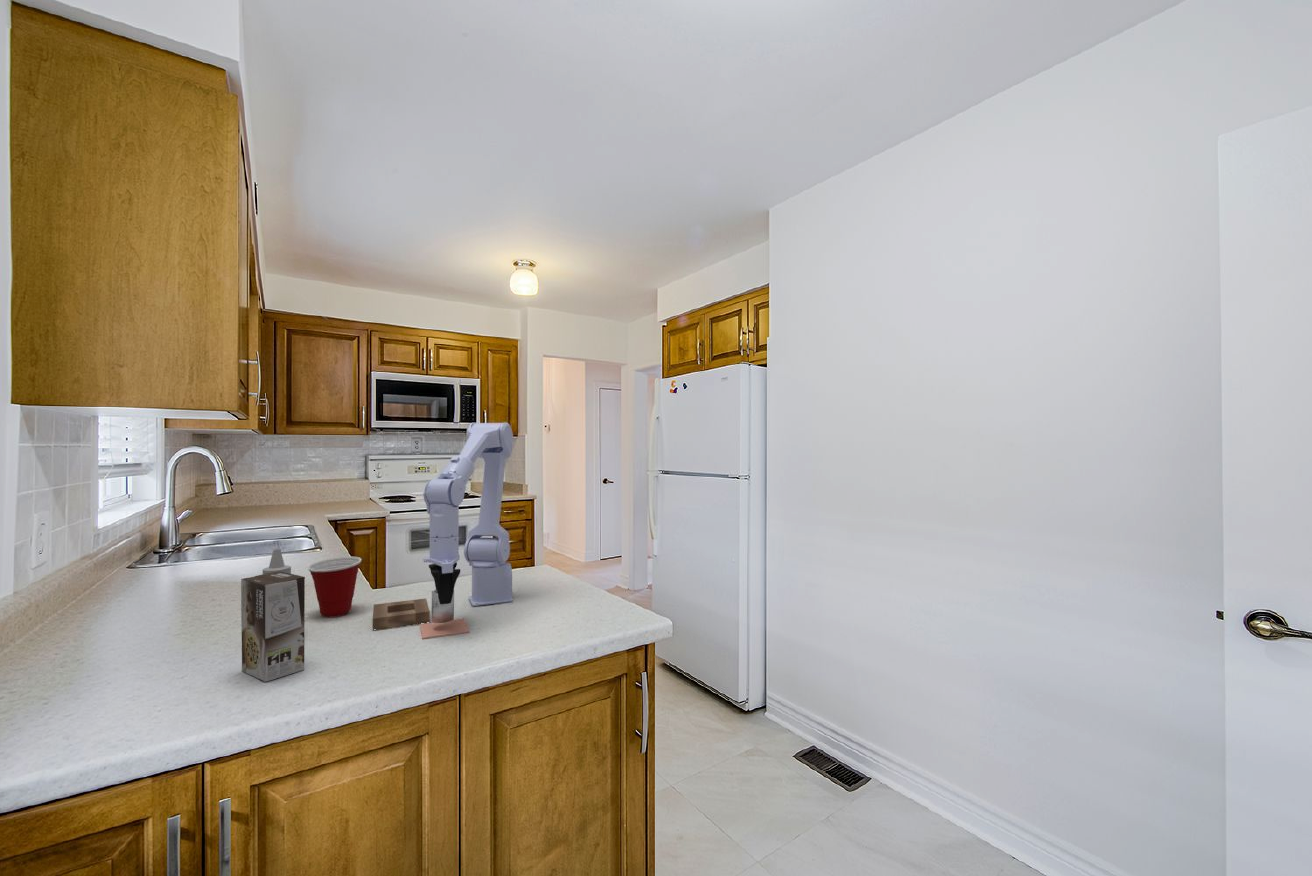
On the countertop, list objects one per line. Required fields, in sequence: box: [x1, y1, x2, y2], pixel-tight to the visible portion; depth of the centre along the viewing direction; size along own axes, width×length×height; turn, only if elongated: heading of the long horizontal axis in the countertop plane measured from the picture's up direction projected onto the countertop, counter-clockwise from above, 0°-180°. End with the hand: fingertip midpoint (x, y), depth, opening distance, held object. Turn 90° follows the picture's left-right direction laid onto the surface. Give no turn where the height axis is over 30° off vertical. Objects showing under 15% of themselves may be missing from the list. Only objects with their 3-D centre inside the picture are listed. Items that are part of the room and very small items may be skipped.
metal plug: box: [431, 589, 455, 623], centre depth 116 cm, size 4×4×6 cm
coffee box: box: [240, 571, 306, 683], centre depth 95 cm, size 9×6×16 cm
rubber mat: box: [419, 617, 471, 640], centre depth 116 cm, size 9×9×1 cm
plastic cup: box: [306, 556, 363, 618], centre depth 126 cm, size 11×11×12 cm
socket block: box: [372, 597, 431, 631], centre depth 122 cm, size 11×11×2 cm
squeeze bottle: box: [262, 548, 292, 574], centre depth 110 cm, size 8×8×18 cm
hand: (444, 600), depth 116 cm, fingers closed on metal plug, 4 cm apart
